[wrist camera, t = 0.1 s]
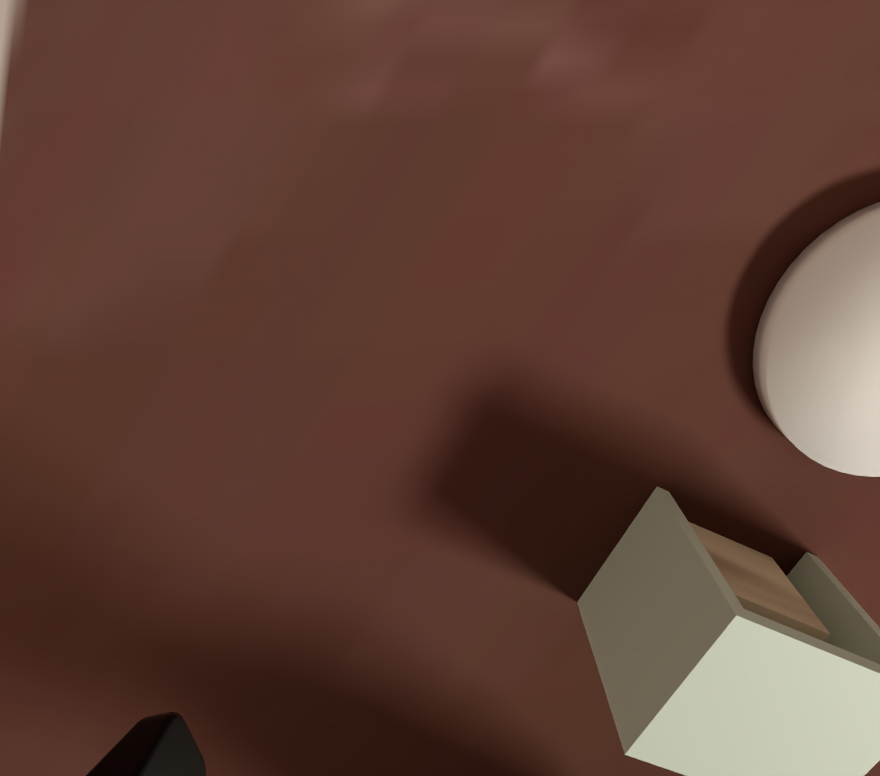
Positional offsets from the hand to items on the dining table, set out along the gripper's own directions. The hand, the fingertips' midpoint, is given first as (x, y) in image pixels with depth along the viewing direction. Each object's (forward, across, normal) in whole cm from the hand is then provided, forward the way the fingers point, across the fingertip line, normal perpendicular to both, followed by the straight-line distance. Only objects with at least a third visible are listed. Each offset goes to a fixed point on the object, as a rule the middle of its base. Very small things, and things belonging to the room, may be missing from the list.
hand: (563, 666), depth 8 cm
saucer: (+14, -13, +4) cm, 20 cm away
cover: (+15, -6, +12) cm, 20 cm away
